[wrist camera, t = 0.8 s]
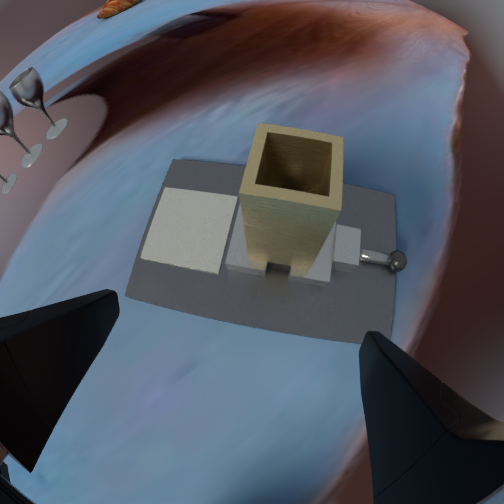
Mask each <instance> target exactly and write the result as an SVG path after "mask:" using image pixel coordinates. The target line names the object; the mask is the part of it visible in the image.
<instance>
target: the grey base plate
mask: <svg viewBox="0 0 504 504" xmlns="http://www.w3.org/2000/svg"><path fill="white" fill-rule="evenodd" d="M245 168H246V166H238V165H230V164H221V163H212V162H202V161H191V160H178V159H173V160H172V163H171V165H170V167H169V170H168V172H167V175H166V177H165V179H164V182H163V184H162V187H161V189H160V192H159V194H158V197H157V199H156V202H155V205H154V207H153V210H152V213H151V215H150V218H149V221H148V224H147V226H146V229H145V232H144V235H143V238H142V241H141V244H140V247H139V250H138V253H137V256H136V259H135V262H134V266H133V269H132V272H131V276H130V279H129V282H128V286H127V289H126V293H125V296H127V297H129V298H132V299H135V300H139V301H143V302H146V303H150V304H154V305H157V306H161V307H165V308H169V309H173V310H177V311H181V312H185V313H189V314H193V315H197V316H202V317H206V318H210V319H215V320H219V321H224V322H229V323H233V324H238V325H243V326H248V327H253V328H259V329H264V330H269V331H275V332H281V333H286V334H292V335H299V336H305V337H311V338H318V339H325V340H332V341H340V342H348V343H356V344H362V342H363V339H364V337H365V334H366V332H367V331H378V332H380V333H381V334H383V335H384V336H385V337H386V338H388V339H389V340H390V337H391V329H392V319H393V308H394V294H395V274H396V272H399V271H402V270H403V269H404V268H405V266H406V264H407V258H406V256H405V254H404V253H403V252H401V251H398V250H396V216H395V196H394V195H392V194H388V193H384V192H380V191H376V190H372V189H367V188H363V187H359V186H354V185H350V184H345V183H343V187H342V207H341V212H340V214H339V216H338V218H337V220H336V222H335V224H334V226H333V228H332V230H331V232H330V233H329V235H328V237H327V239H326V241H325V243H324V245H323V247H322V248H321V250H320V252H319V254H318V256H317V258H316V259H315V261H314V263H313V265H312V267H311V268H310V269H305V268H299V267H293V266H288V265H282V264H276V263H271V262H265V261H260V260H254V259H249V258H248V253H247V246H246V239H245V232H244V225H243V218H242V211H241V205H240V198H239V191H240V187H241V183H242V179H243V176H244V172H245Z"/></svg>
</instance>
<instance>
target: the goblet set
mask: <svg viewBox="0 0 504 504" xmlns="http://www.w3.org/2000/svg"><path fill="white" fill-rule="evenodd" d="M9 89H10V91H11V94H12V95H13V97H14V99H15V100H16V101H17V102H18V103H20V104H21V105H23V106H26V107H32V108H36V109H38V110H39V111H41V112H42V113H43V114H44V115H45V116H46V118H47V119H48V120H49V121H50V123H51V124H52V126H51V127H50V128H49V130H48V131H47V134H46V139H48V140H51V139H54V138H55V137H57V136H58V135H59V134H61V132H63V130H64V129H65V128H66V126H67V123H68V120H67V119H65V118H63V119H60V120H58V121H57V122H55V123H53V121H52V120H51V118H50V117H49V115H48V113H47V112H46V110H45V107H44V104H43V94H44V86H43V82H42V79H41V77H40V75H39V73H38V72H37V71H36V70H35V69H34V68H33V67H30V68H28V69H27V70H25V71H24V72H23V73H21V74H20V75H19V76H18V77H17V78H16V79H15V80H14V81H13V82H12V84H11V85H10V87H9ZM0 135H6V136H10V137H12V138H13V139H14V140H15V141H17V142H18V143H19V144H20V145H21V146H22V148H23V149H24V150H25V151H26V152H27V153H26V154H25V156H24V157H23V160H22V163H21V166H22V168H28V167H29V166H31V165H32V164H33V163H34V162H35V161H36V160H37V159H38V157H39V156H40V154H41V152H42V144H36V145H34V146H33V147H31V148H30V149H29V150H28V149H27V148H26V147H25V146H24V145H23V143H22V142H21V141H20V140H19V138H18V137H17V135H16V133H15V131H14V115H13V109H12V106H11V103H10V101H9V100H8V98H7V97H6V96H5V95H4V94H3V93H2V92H1V91H0ZM0 178H2V179H3V180H4V181H5V182H4V184H3V186H2V189H1V193H2V195H6V194H7V193H9V192H10V191H11V189H12V188H13V186H14V185H15V182H16V179H17V174H16V173H12V174H11V175H9V176H8V178H7V179H4V178H3V177H2V176H1V175H0Z"/></svg>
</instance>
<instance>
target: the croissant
mask: <svg viewBox="0 0 504 504" xmlns="http://www.w3.org/2000/svg"><path fill="white" fill-rule="evenodd" d="M138 1H140V0H108V1H107V3H106V5H105V6H104V7H103V10H101V11H100V13H99V15H97V18H99V19H101V18H102V19H104V18H107V17H111V16H113V15H116V14H118V13H120V12H122V11H124V10H126V9H128V8H130V7H132V6H134V5H135V4H136V3H137V2H138Z"/></svg>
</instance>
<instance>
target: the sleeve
mask: <svg viewBox="0 0 504 504" xmlns="http://www.w3.org/2000/svg"><path fill="white" fill-rule="evenodd" d="M342 187H343V137H340V136H335V135H330V134H325V133H320V132H315V131H309V130H303V129H297V128H291V127H284V126H277V125H270V124H262V123H258V125H257V129H256V132H255V136H254V139H253V143H252V146H251V150H250V154H249V157H248V161H247V165H246V168H245V172H244V176H243V179H242V183H241V187H240V191H239V198H240V205H241V211H242V218H243V225H244V232H245V239H246V246H247V253H248V258H249V259H254V260H260V261H265V262H271V263H276V264H282V265H288V266H293V267H299V268H305V269H310V268H311V267H312V265H313V263H314V261H315V259H316V258H317V256H318V254H319V252H320V250H321V248H322V247H323V245H324V243H325V241H326V239H327V237H328V235H329V233H330V232H331V230H332V228H333V226H334V224H335V222H336V220H337V218H338V216H339V214H340V212H341V207H342Z"/></svg>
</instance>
